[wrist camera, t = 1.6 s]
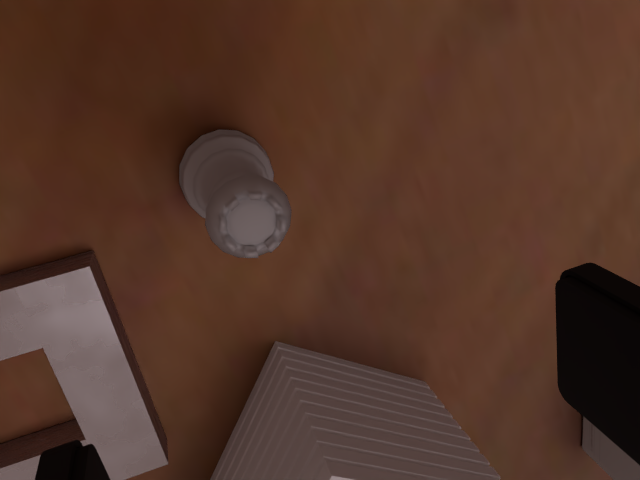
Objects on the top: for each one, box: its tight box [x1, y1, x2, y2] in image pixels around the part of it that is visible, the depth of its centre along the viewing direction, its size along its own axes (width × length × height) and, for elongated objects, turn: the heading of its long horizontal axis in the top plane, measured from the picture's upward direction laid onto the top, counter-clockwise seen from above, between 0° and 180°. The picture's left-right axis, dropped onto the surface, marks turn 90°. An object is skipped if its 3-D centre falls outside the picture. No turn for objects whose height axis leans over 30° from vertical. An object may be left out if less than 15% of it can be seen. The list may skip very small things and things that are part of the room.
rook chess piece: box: [179, 130, 291, 258], centre depth 24 cm, size 4×4×8 cm
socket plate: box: [0, 251, 168, 480], centre depth 27 cm, size 12×12×2 cm
